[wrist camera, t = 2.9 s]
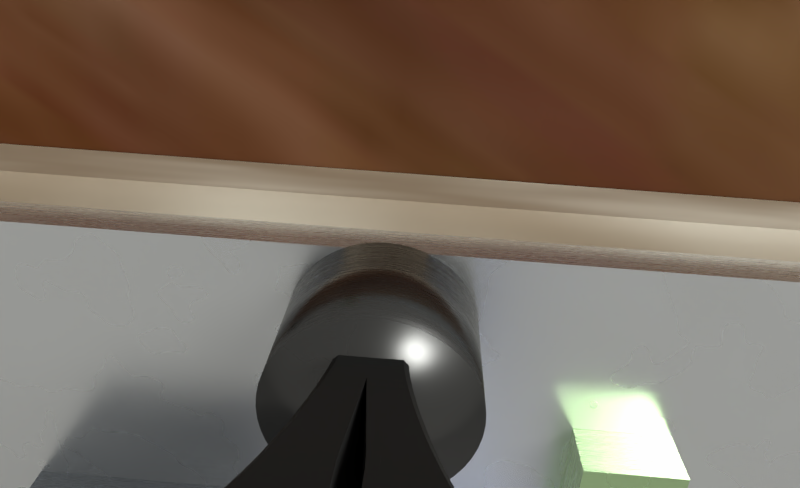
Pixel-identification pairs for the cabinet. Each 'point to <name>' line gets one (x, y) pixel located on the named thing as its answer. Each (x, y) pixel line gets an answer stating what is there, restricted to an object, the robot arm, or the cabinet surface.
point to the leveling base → (401, 202)
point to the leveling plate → (547, 360)
